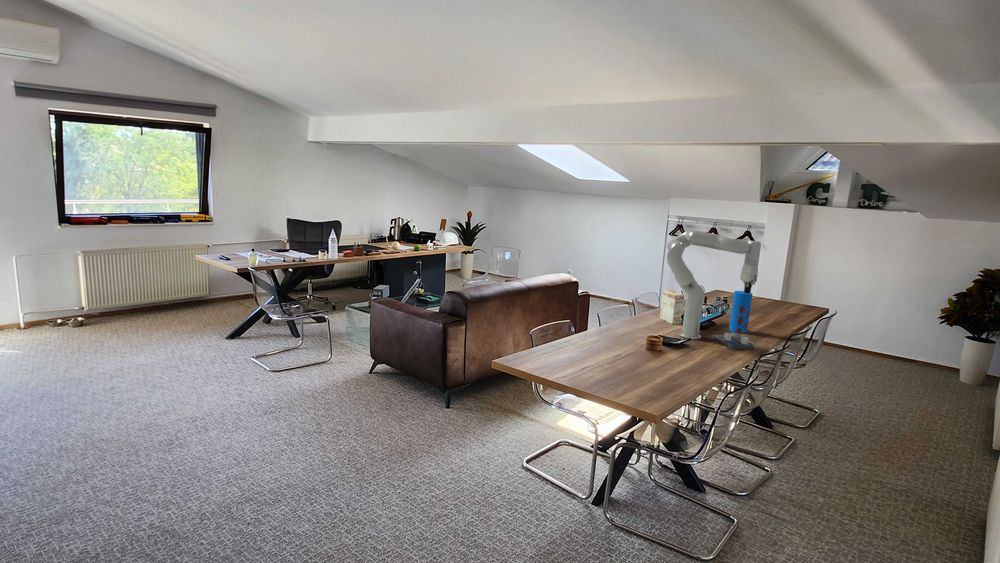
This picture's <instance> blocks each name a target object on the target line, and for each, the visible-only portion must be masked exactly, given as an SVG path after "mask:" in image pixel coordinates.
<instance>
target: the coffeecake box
mask: <svg viewBox="0 0 1000 563" xmlns="http://www.w3.org/2000/svg"><path fill="white" fill-rule="evenodd" d="M684 300H685V294H683V293H679V292H676V291H673V290H669V289H668V290H662V295H661V305H660V306H661V307H660V313H659V319H660V320H661V321H664V320H665V321H664V322H666V321H667V323H669V324H671V325H680V324H679V323H681V324H682V319H681V316H682V317H683V310H684V302H685V301H684Z"/></svg>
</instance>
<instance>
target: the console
mask: <svg viewBox="0 0 1000 563" xmlns="http://www.w3.org/2000/svg"><path fill="white" fill-rule="evenodd" d="M730 333H731V334H732V335H731V341H726V340H725V339H724V336H725V334H710V335H711V336H710V338H711V339H712V340H713V339H714V340H713V341H715V342H717V343H719V344H721V345H722V346H724V347H726V348H727V349H729V350H731V349H754V350H755V345H756V343H755V342H752V341H751V340H749V339H748V344H742V343H741V336H742V335H739V334H738V333H736V332H730Z"/></svg>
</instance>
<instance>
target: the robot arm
mask: <svg viewBox="0 0 1000 563" xmlns="http://www.w3.org/2000/svg"><path fill="white" fill-rule="evenodd" d="M691 245H692V246H696V247H702V248H708V249H713V250H717V251H724V252H728V253H729V252H730V253H734V254H739V255H744V254H745V256H744V263H743V265H742V269H741V272H740V280H741V281H742V282H743V285H744V290H743V291H744V293H747V294H750V293H752V287H753V286H754V285H756V283H757V281H758V276H759V261H760V254H761V247H762V243H761V242H760V241H757V240H746V239H742V238H741V239H740V238H738V239H735V238H734V239H733V238H730V237H726V236H723V235H720V234H716V233H712V232H707V231H705V232H704V231H702V230H701V231H700V230H695V229H688V230H686V231H684V232H683V233H681V234H680V235H678V236H676V237H674V238H673V239H671V240H669V241H668V243H667V246H666V247H667V254H666V255H667V256H666V262H667V264H668V267H669V268H670V270H671V272H672V274H673V275H674V278H675V282H677V283H678V286H679V287H680V289H682V292H683V293H684V295H685V296H686V301H685V305H684V313H683V321H682V326H681V331H680V332H679V333H678V336H680V337H681V336H682V338H684V337H685V338H684V339H689V338H691V339H690V340H700V339H701V338H702V335H701V334H699V333H700V326H701V319H702V318H701V317H702V310H703V304H704V301H705V300H704V299H705V289H704V287H702V286H701V285H700V284H699V283H698V281H696V279H695V276H694V275H693V273H692V272H691V270H690V269H689V266H687V264H686V263H685V261H684V260H683V255H684V252H685V249H686V248H688V247H690V246H691Z"/></svg>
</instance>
